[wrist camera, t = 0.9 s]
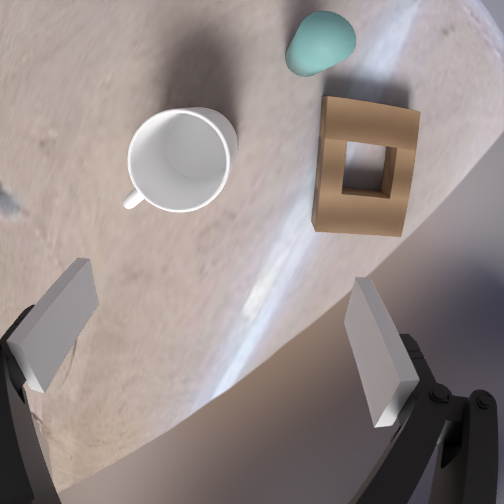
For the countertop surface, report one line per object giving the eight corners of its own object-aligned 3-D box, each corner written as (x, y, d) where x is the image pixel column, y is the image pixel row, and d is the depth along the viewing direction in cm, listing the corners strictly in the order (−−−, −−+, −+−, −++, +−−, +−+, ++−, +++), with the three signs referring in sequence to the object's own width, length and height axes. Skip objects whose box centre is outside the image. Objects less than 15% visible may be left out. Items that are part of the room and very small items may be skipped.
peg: (285, 39, 28) (299, 7, 17) (324, 43, 28) (356, 16, 17) (284, 74, 29) (297, 59, 19) (322, 78, 29) (355, 66, 19)
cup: (254, 152, 33) (252, 172, 24) (169, 215, 36) (141, 254, 27) (207, 91, 30) (185, 86, 21) (124, 160, 34) (81, 183, 25)
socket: (321, 96, 30) (327, 96, 28) (408, 110, 30) (420, 111, 27) (311, 221, 36) (315, 231, 34) (391, 226, 36) (401, 236, 34)
